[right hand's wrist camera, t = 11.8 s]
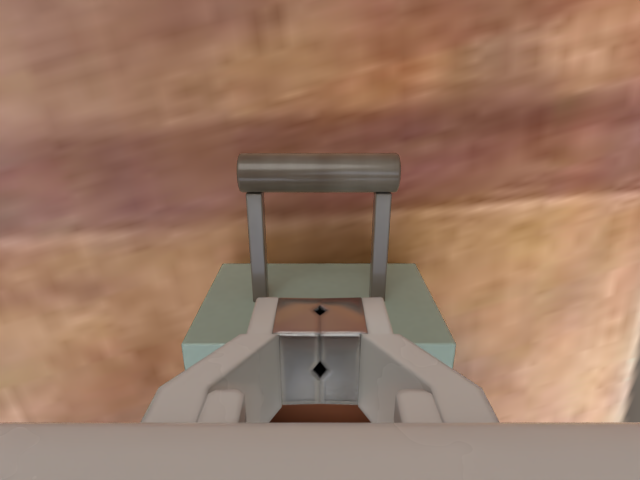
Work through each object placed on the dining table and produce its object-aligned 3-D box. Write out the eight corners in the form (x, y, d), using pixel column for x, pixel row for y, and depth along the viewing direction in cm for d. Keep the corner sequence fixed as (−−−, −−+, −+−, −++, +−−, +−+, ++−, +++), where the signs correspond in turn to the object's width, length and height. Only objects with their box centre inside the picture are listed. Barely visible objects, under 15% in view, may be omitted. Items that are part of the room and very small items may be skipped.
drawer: (210, 139, 19) (155, 171, 12) (426, 139, 19) (481, 171, 12) (244, 500, 27) (221, 629, 21) (393, 499, 27) (416, 629, 21)
